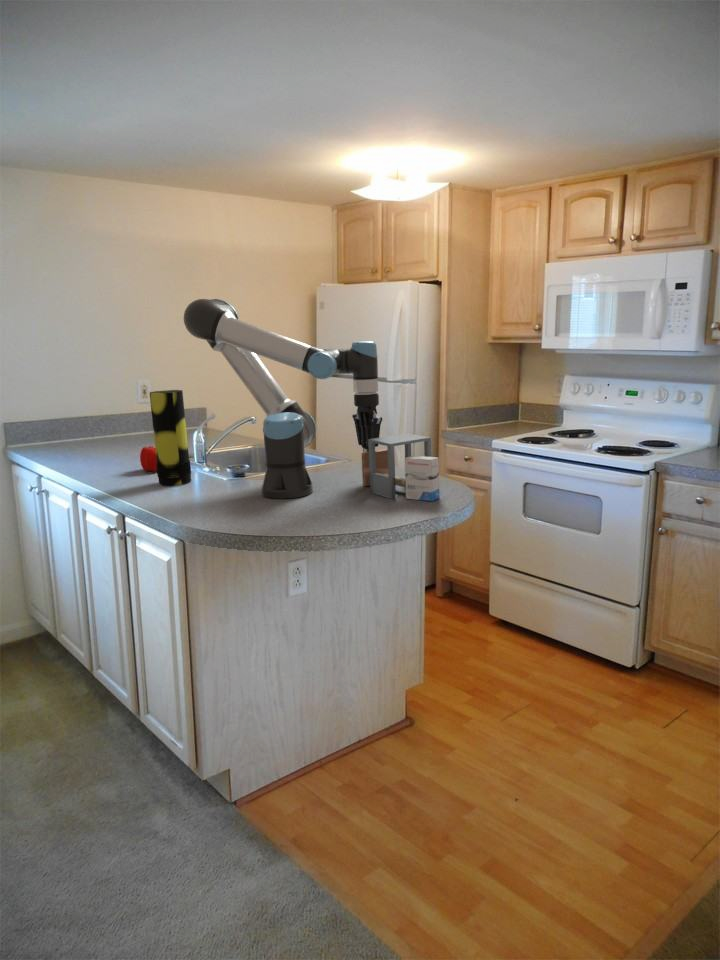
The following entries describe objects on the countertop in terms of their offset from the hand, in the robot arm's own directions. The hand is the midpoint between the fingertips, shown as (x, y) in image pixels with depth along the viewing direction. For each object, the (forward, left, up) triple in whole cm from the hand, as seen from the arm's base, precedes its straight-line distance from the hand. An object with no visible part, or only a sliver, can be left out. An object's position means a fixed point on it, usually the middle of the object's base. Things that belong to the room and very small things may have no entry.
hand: (369, 468), depth 220 cm
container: (-47, +45, -5) cm, 65 cm away
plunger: (0, -14, -4) cm, 14 cm away
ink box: (-1, -27, -5) cm, 27 cm away
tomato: (-45, +70, -5) cm, 83 cm away
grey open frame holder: (0, -16, -4) cm, 17 cm away
